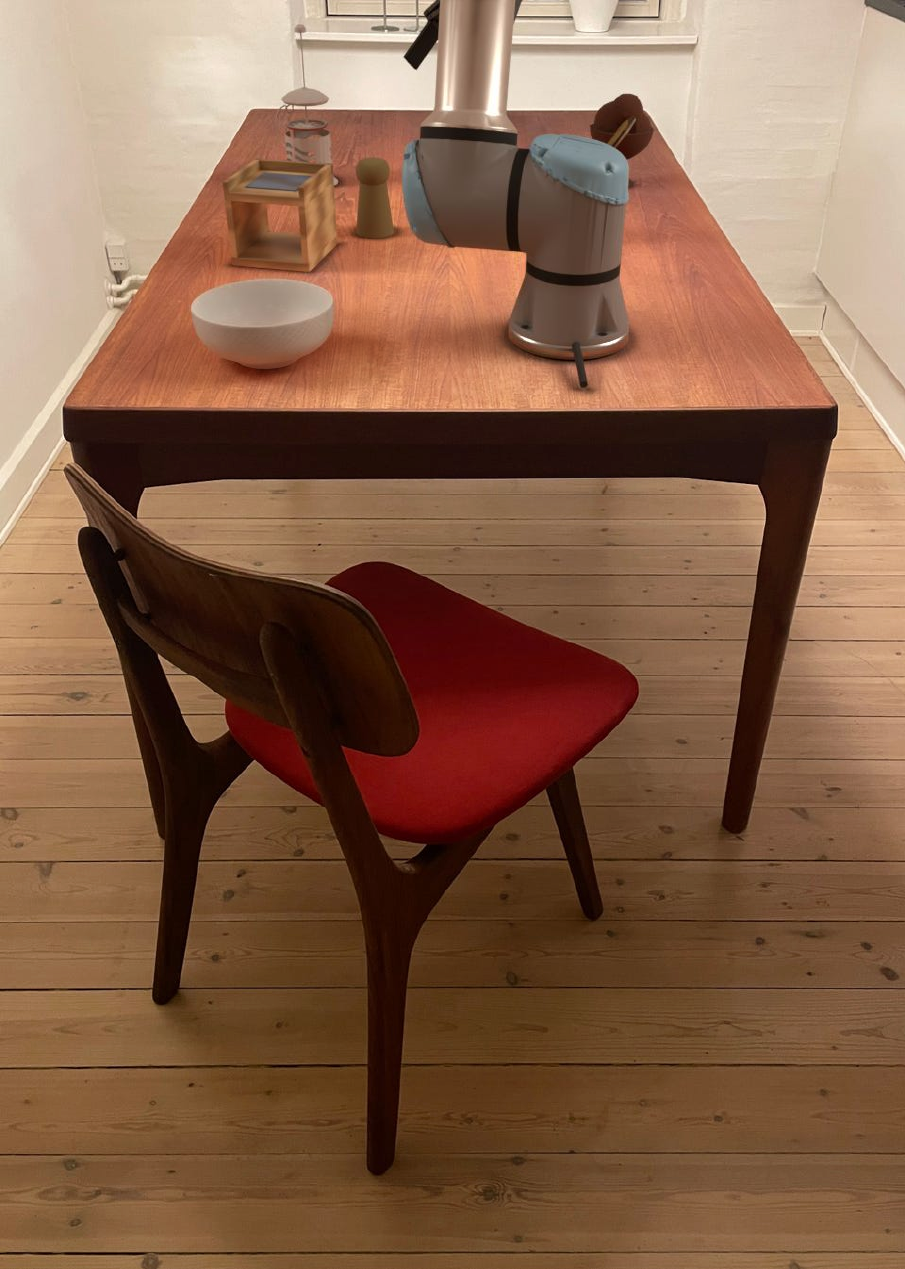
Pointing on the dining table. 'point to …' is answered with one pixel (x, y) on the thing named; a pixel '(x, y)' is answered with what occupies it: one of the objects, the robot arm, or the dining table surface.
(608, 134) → the ice cream bowl
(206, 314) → the cereal bowl
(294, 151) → the french press
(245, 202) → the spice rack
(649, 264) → the dining table surface
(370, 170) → the olive pawn piece
